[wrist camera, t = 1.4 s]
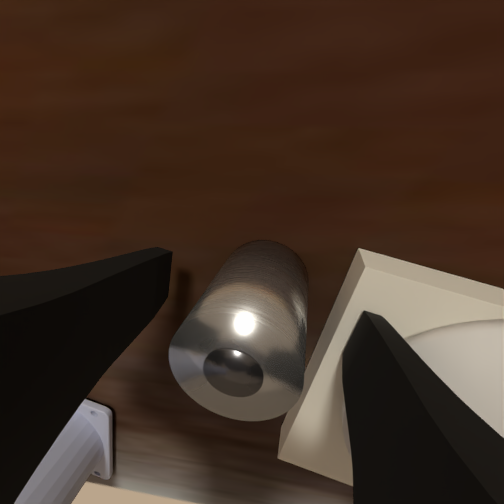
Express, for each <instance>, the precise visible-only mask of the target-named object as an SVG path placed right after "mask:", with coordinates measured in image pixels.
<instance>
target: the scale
mask: <svg viewBox="0 0 504 504" xmlns="http://www.w3.org/2000/svg"><path fill="white" fill-rule="evenodd" d="M364 310H365V311H368V312H371V313H374V314H378V315H381V316H383V317H384V318H385V319H386V320H387V321H388V322H389V323H390V324H391V325H392V327H393V328H394V329H395V330H396V331H397V332H398V333H399V334H400V335H401V336H402V338H403V339H404V340H405V341H406V342H407V343H408V344H409V345H410V347H411V348H412V349H413V350H414V351H415V352H416V353H417V354H418V355H419V356H420V358H421V359H422V360H423V361H424V362H425V363H426V364H427V365H428V366H429V367H430V368H431V369H432V370H433V372H434V373H435V374H436V375H437V376H438V377H439V378H440V379H441V380H442V381H443V382H444V383H445V384H446V385H447V386H448V387H449V388H450V389H451V390H452V391H453V392H454V393H455V394H456V395H457V396H458V397H459V398H460V399H461V400H462V401H463V402H464V403H465V404H466V405H468V406H469V407H470V408H471V409H472V410H473V411H474V412H475V413H476V414H477V415H478V416H480V417H481V418H482V419H483V420H484V421H485V422H486V423H487V424H488V425H490V426H491V427H492V428H493V429H494V430H495V431H496V432H497V433H498V434H500V435H501V436H502V437H503V438H504V289H502V288H498V287H495V286H491V285H488V284H484V283H480V282H477V281H473V280H470V279H466V278H463V277H459V276H456V275H452V274H449V273H445V272H442V271H438V270H434V269H431V268H427V267H424V266H420V265H417V264H413V263H410V262H406V261H403V260H399V259H396V258H392V257H388V256H385V255H381V254H378V253H374V252H371V251H367V250H364V249H360V248H358V250H357V252H356V254H355V257H354V259H353V261H352V264H351V266H350V268H349V271H348V273H347V275H346V278H345V280H344V282H343V285H342V287H341V289H340V292H339V294H338V296H337V299H336V301H335V303H334V306H333V308H332V310H331V312H330V315H329V317H328V319H327V322H326V324H325V326H324V329H323V331H322V333H321V336H320V338H319V340H318V343H317V345H316V347H315V350H314V352H313V354H312V357H311V359H310V361H309V364H308V366H307V368H306V371H305V373H304V386H303V391H302V394H301V396H300V398H299V400H298V402H297V403H296V404H295V405H294V406H293V407H292V408H291V409H290V410H289V411H288V412H287V415H286V417H285V419H284V422H283V424H282V426H281V433H280V441H279V450H278V459H280V460H283V461H286V462H289V463H291V464H294V465H297V466H299V467H302V468H305V469H307V470H310V471H313V472H315V473H318V474H321V475H323V476H326V477H329V478H332V479H334V480H337V481H340V482H342V483H345V484H348V485H350V486H353V469H352V457H351V447H350V440H349V432H348V424H347V416H346V409H345V401H344V392H343V384H342V353H343V351H344V349H345V347H346V345H347V343H348V341H349V339H350V337H351V335H352V333H353V331H354V329H355V327H356V325H357V323H358V321H359V319H360V317H361V315H362V313H363V311H364Z"/></svg>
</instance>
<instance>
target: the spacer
mask: <svg viewBox="0 0 504 504" xmlns="http://www.w3.org/2000/svg"><path fill="white" fill-rule="evenodd" d="M308 285H309V280H308V273H307V270H306V267H305V265H304V263H303V261H302V260H301V258H300V257H299V256H298V255H297V254H296V253H295V252H294V251H293V250H291V249H290V248H288V247H287V246H285V245H283V244H280V243H278V242H274V241H269V240H256V241H251V242H248V243H246V244H243V245H241V246H240V247H238V248H237V249H236V250H235V251H234V252H233V253H232V254H231V255H230V257H229V258H228V260H227V261H226V262H225V264H224V265H223V267H222V268H221V269H220V271H219V272H218V274H217V275H216V276H215V278H214V279H213V281H212V282H211V284H210V285H209V286H208V288H207V289H206V291H205V292H204V293H203V295H202V296H201V298H200V299H199V300H198V302H197V303H196V305H195V306H194V308H193V309H192V310H191V312H190V313H189V315H188V316H187V317H186V319H185V320H184V322H183V323H182V324H181V326H180V327H179V329H178V330H177V332H176V333H175V335H174V336H173V338H172V340H171V343H170V347H169V363H170V367H171V370H172V373H173V375H174V377H175V379H176V380H177V382H178V384H179V385H180V386H181V388H182V389H183V390H184V391H185V392H186V393H187V394H188V395H189V396H190V397H191V398H192V399H193V400H194V401H196V402H197V403H198V404H200V405H201V406H203V407H205V408H206V409H208V410H210V411H212V412H214V413H216V414H219V415H221V416H224V417H227V418H231V419H236V420H242V421H263V420H269V419H272V418H276V417H278V416H280V415H282V414H284V413H286V412H287V411H289V410H290V409H291V408H292V407H293V406H294V405H295V404H296V403H297V402H298V400H299V398H300V396H301V394H302V391H303V386H304V371H305V349H306V328H307V306H308Z"/></svg>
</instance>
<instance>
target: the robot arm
mask: <svg viewBox="0 0 504 504" xmlns="http://www.w3.org/2000/svg"><path fill="white" fill-rule="evenodd" d="M171 262H172V251H169V250H165V249H162V248H159V247H155V248H149V249H144V250H140V251H136V252H132V253H128V254H124V255H120V256H116V257H112V258H108V259H104V260H100V261H95V262H90V263H86V264H81V265H76V266H72V267H67V268H61V269H55V270H49V271H42V272H35V273H28V274H19V275H8V276H0V504H71V503H72V501H73V500H74V498H75V497H76V495H77V494H78V492H79V491H80V489H81V488H82V486H83V485H84V483H85V482H86V480H87V479H88V477H89V476H90V474H92V475H95V476H97V477H99V478H102V479H105V480H108V479H110V477H111V475H112V473H113V448H112V411H111V410H110V409H109V408H108V407H106V406H103V405H101V404H98V403H95V402H93V401H90V400H87V399H85V398H86V397H87V395H88V394H89V393H90V391H91V390H92V389H93V387H94V386H95V385H96V383H97V382H98V381H99V379H100V378H101V377H102V375H103V374H104V373H105V372H106V371H107V369H108V368H109V367H110V366H111V365H112V363H113V362H114V361H115V360H116V359H117V358H118V357H119V356H120V355H121V353H122V352H123V351H124V350H125V349H126V348H127V347H128V346H129V345H130V344H131V342H132V341H133V340H134V339H135V338H136V337H137V336H138V335H139V334H140V333H141V331H142V330H143V329H144V328H145V327H146V326H147V325H148V324H149V322H150V321H151V320H152V319H153V318H154V317H155V315H156V314H157V312H158V311H159V309H160V308H161V307H162V305H163V303H164V302H165V300H166V299H167V297H168V292H169V282H170V272H171ZM342 384H343V392H344V401H345V409H346V416H347V424H348V432H349V440H350V447H351V457H352V469H353V499H354V504H504V438H503V437H502V436H501V435H500V434H498V433H497V432H496V431H495V430H494V429H493V428H492V427H491V426H490V425H488V424H487V423H486V422H485V421H484V420H483V419H482V418H481V417H480V416H478V415H477V414H476V413H475V412H474V411H473V410H472V409H471V408H470V407H469V406H468V405H466V404H465V403H464V402H463V401H462V400H461V399H460V398H459V397H458V396H457V395H456V394H455V393H454V392H453V391H452V390H451V389H450V388H449V387H448V386H447V385H446V384H445V383H444V382H443V381H442V380H441V379H440V378H439V377H438V376H437V375H436V374H435V373H434V372H433V370H432V369H431V368H430V367H429V366H428V365H427V364H426V363H425V362H424V361H423V360H422V359H421V358H420V356H419V355H418V354H417V353H416V352H415V351H414V350H413V349H412V348H411V347H410V345H409V344H408V343H407V342H406V341H405V340H404V339H403V338H402V336H401V335H400V334H399V333H398V332H397V331H396V330H395V329H394V328H393V327H392V325H391V324H390V323H389V322H388V321H387V320H386V319H385V318H384V317H383V316H381V315H378V314H374V313H371V312H368V311H365V310H364V311H363V313H362V315H361V317H360V319H359V321H358V323H357V325H356V327H355V329H354V331H353V333H352V335H351V337H350V339H349V341H348V343H347V345H346V347H345V349H344V351H343V353H342Z"/></svg>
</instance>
